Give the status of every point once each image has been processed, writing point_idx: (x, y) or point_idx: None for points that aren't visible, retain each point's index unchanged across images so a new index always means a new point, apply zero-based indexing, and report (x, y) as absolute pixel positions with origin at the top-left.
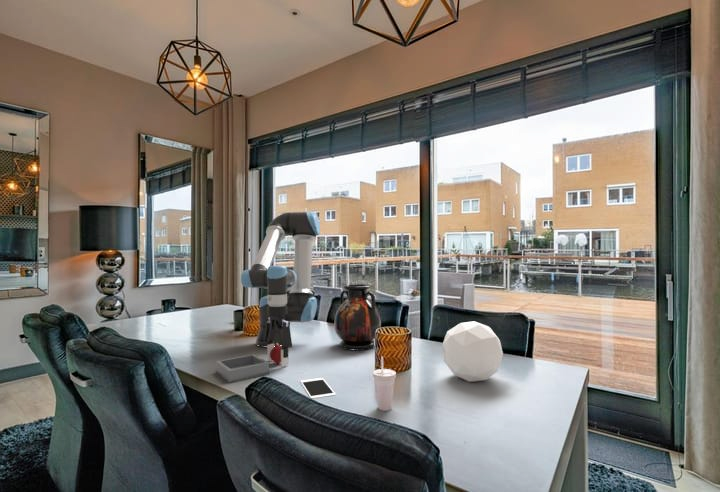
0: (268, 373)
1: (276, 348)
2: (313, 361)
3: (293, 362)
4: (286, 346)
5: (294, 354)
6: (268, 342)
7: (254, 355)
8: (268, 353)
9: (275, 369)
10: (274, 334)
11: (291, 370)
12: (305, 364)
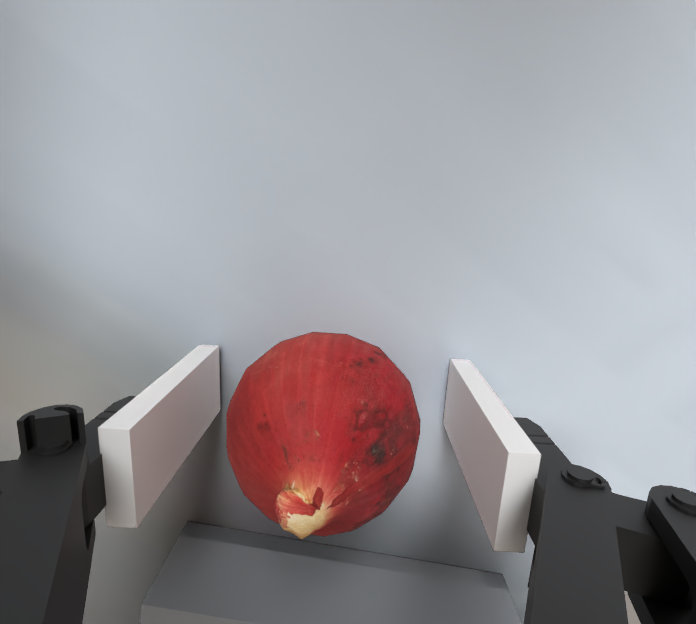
0: (501, 579)
1: (358, 524)
2: (578, 70)
3: (417, 249)
4: (687, 612)
5: (158, 26)
6: (91, 543)
7: (191, 621)
8: (187, 455)
9: (452, 483)
10: (56, 610)
11: (597, 416)
12: (579, 211)
